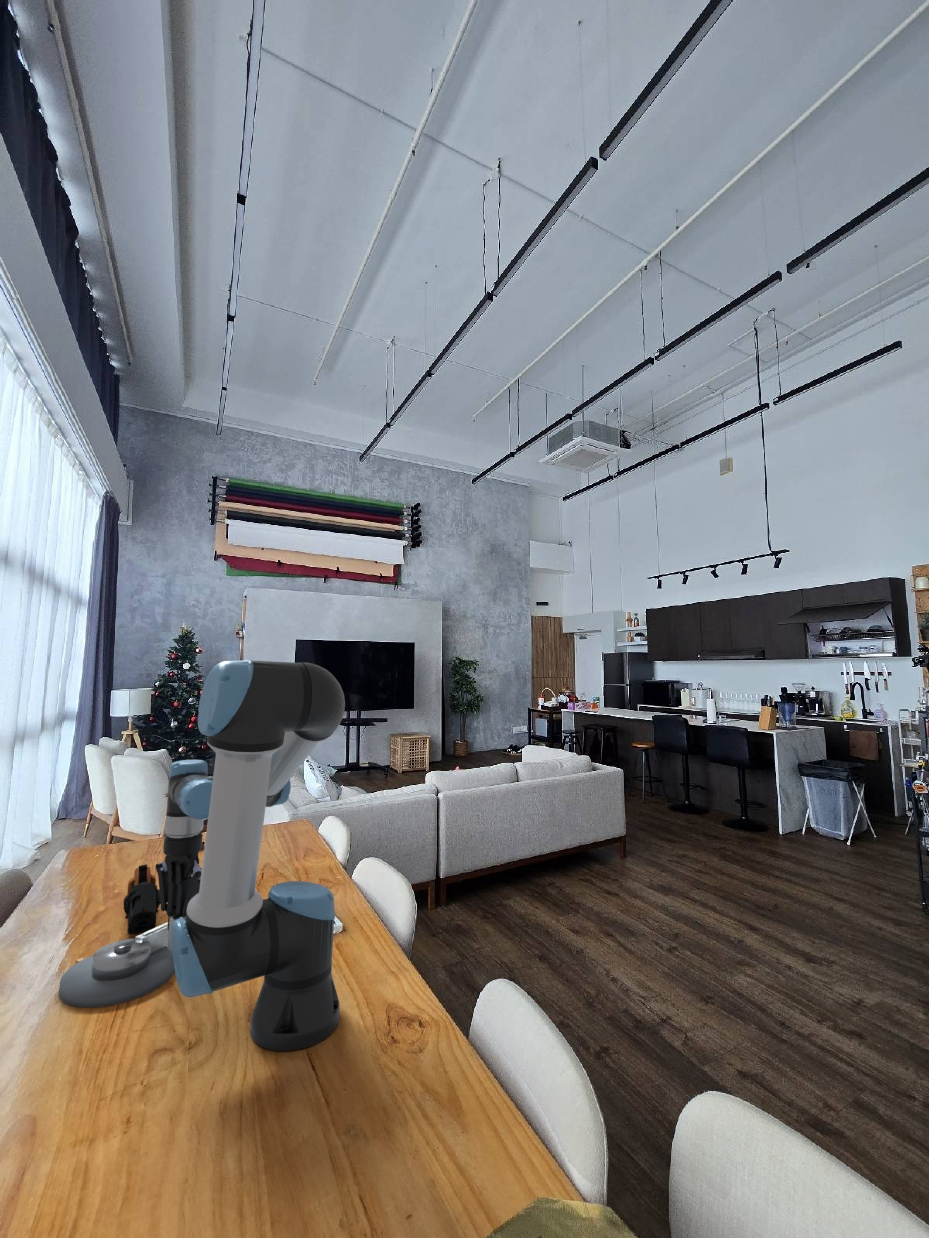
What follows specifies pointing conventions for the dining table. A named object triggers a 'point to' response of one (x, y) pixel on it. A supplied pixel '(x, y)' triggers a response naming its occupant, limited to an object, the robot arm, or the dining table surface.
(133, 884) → the tool
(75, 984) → the dial plate
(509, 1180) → the dining table surface
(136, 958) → the dial
